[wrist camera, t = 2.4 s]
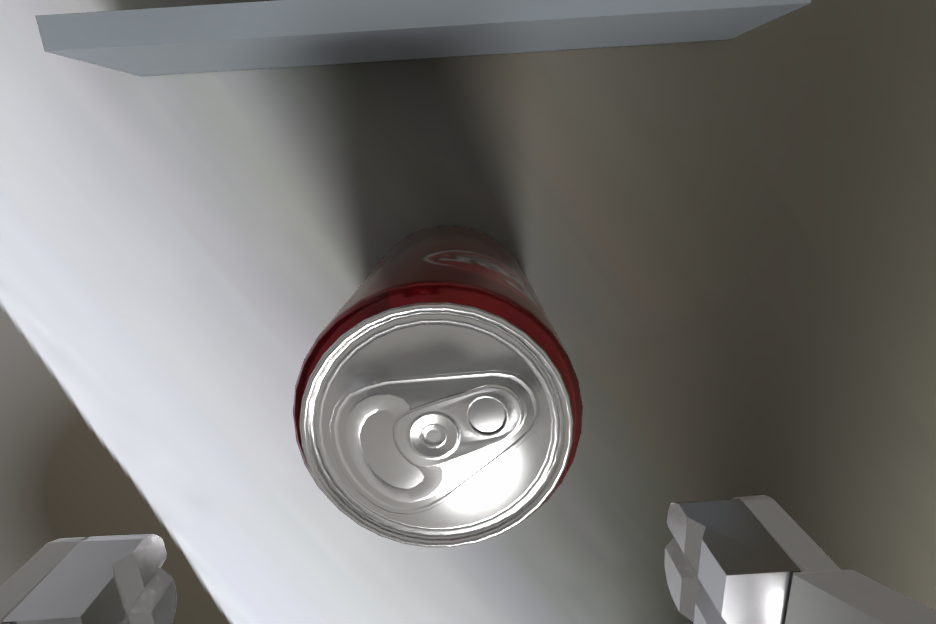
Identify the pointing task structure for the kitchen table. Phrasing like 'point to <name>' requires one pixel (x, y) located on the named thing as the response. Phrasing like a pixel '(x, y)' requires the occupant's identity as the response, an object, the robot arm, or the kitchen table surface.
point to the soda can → (439, 395)
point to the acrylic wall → (383, 30)
